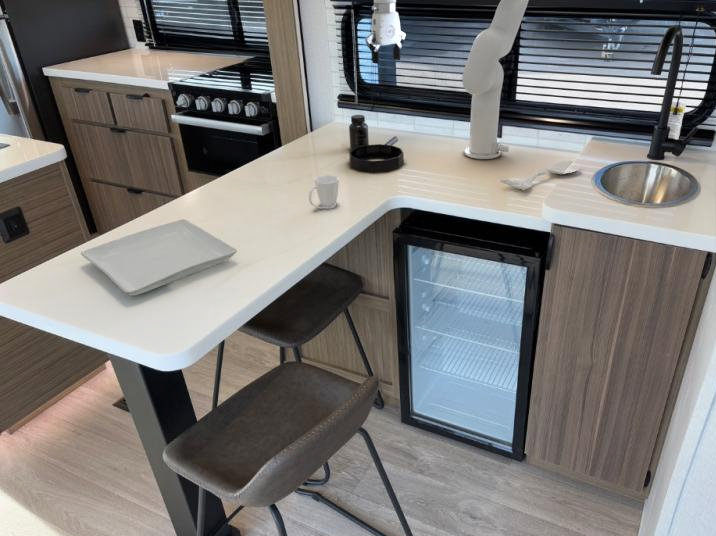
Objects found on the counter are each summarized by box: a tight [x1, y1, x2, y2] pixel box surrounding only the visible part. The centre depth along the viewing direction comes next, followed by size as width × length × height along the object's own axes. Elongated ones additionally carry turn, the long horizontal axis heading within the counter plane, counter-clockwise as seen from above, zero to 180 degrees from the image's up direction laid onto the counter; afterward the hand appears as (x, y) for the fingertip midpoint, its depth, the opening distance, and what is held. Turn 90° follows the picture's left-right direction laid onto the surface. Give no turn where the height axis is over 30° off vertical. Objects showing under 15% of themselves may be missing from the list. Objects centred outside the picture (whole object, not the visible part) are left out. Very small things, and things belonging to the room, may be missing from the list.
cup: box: [308, 174, 340, 210], centre depth 172 cm, size 7×10×8 cm
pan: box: [348, 135, 405, 174], centre depth 209 cm, size 18×28×4 cm, turn 160°
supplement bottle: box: [348, 114, 370, 151], centre depth 217 cm, size 7×7×12 cm
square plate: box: [80, 218, 238, 296], centre depth 144 cm, size 27×27×4 cm
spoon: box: [499, 160, 574, 191], centre depth 188 cm, size 9×32×4 cm, turn 130°
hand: (386, 61), depth 214 cm, fingers open, 9 cm apart
